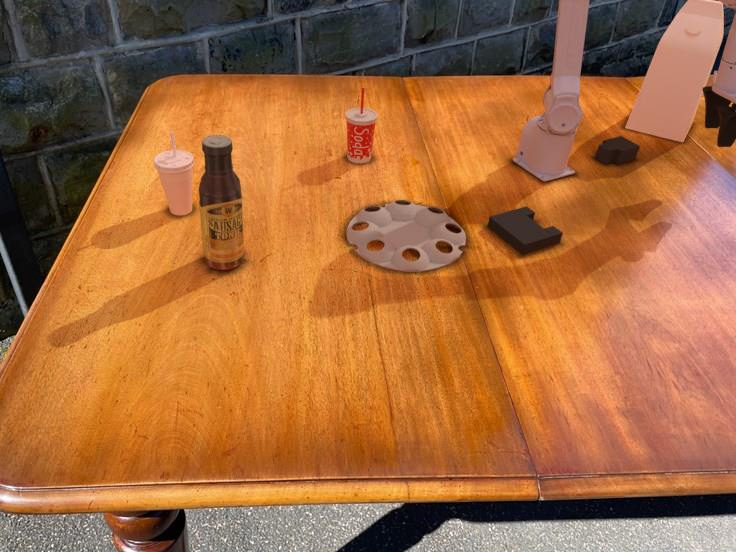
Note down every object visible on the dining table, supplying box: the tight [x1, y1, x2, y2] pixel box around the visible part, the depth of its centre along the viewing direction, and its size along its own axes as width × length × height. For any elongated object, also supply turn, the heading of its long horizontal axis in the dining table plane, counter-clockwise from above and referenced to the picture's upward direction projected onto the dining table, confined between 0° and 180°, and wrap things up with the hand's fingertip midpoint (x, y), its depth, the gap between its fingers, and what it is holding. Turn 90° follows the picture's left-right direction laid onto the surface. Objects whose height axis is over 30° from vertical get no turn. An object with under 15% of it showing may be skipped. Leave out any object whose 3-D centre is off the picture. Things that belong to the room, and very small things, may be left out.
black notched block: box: [594, 135, 641, 166], centre depth 127 cm, size 5×7×3 cm
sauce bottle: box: [198, 134, 245, 271], centre depth 92 cm, size 7×6×20 cm
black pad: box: [487, 206, 564, 255], centre depth 105 cm, size 9×8×2 cm
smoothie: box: [153, 130, 195, 216], centre depth 104 cm, size 6×6×14 cm
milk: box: [624, 0, 725, 143], centre depth 132 cm, size 12×12×26 cm
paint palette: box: [346, 199, 467, 273], centre depth 104 cm, size 20×20×2 cm
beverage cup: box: [344, 87, 379, 165], centre depth 120 cm, size 6×6×14 cm
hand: (717, 136), depth 113 cm, fingers open, 7 cm apart
